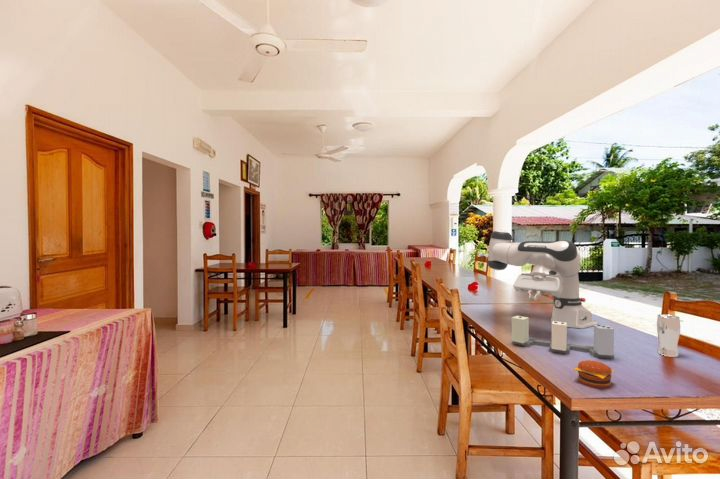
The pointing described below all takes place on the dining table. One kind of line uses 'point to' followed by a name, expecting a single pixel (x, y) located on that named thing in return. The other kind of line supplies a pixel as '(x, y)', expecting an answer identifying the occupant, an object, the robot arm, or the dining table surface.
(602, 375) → the hamburger
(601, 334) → the key three dots
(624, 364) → the dining table surface
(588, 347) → the grey flat piece
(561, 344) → the key two dots
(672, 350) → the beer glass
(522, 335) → the key one dot
